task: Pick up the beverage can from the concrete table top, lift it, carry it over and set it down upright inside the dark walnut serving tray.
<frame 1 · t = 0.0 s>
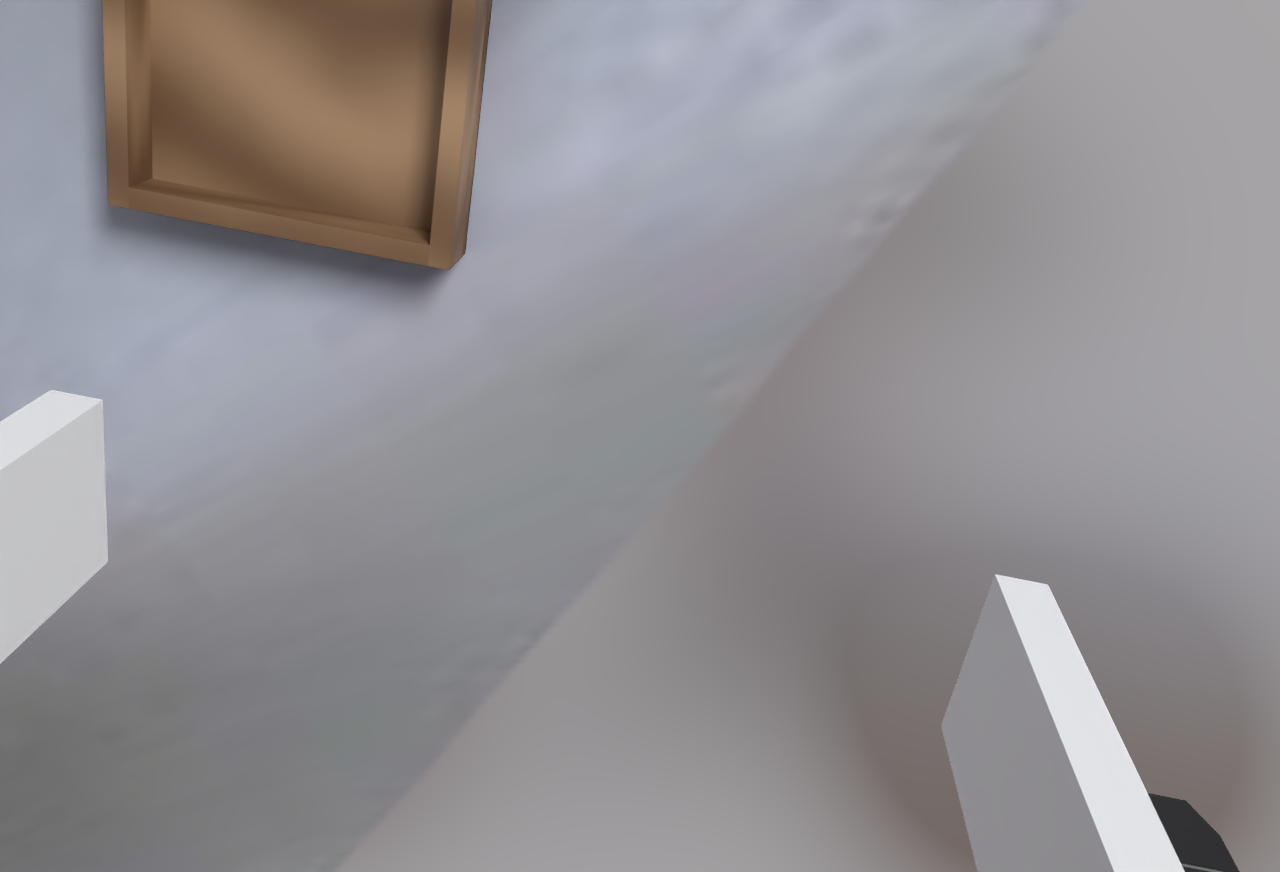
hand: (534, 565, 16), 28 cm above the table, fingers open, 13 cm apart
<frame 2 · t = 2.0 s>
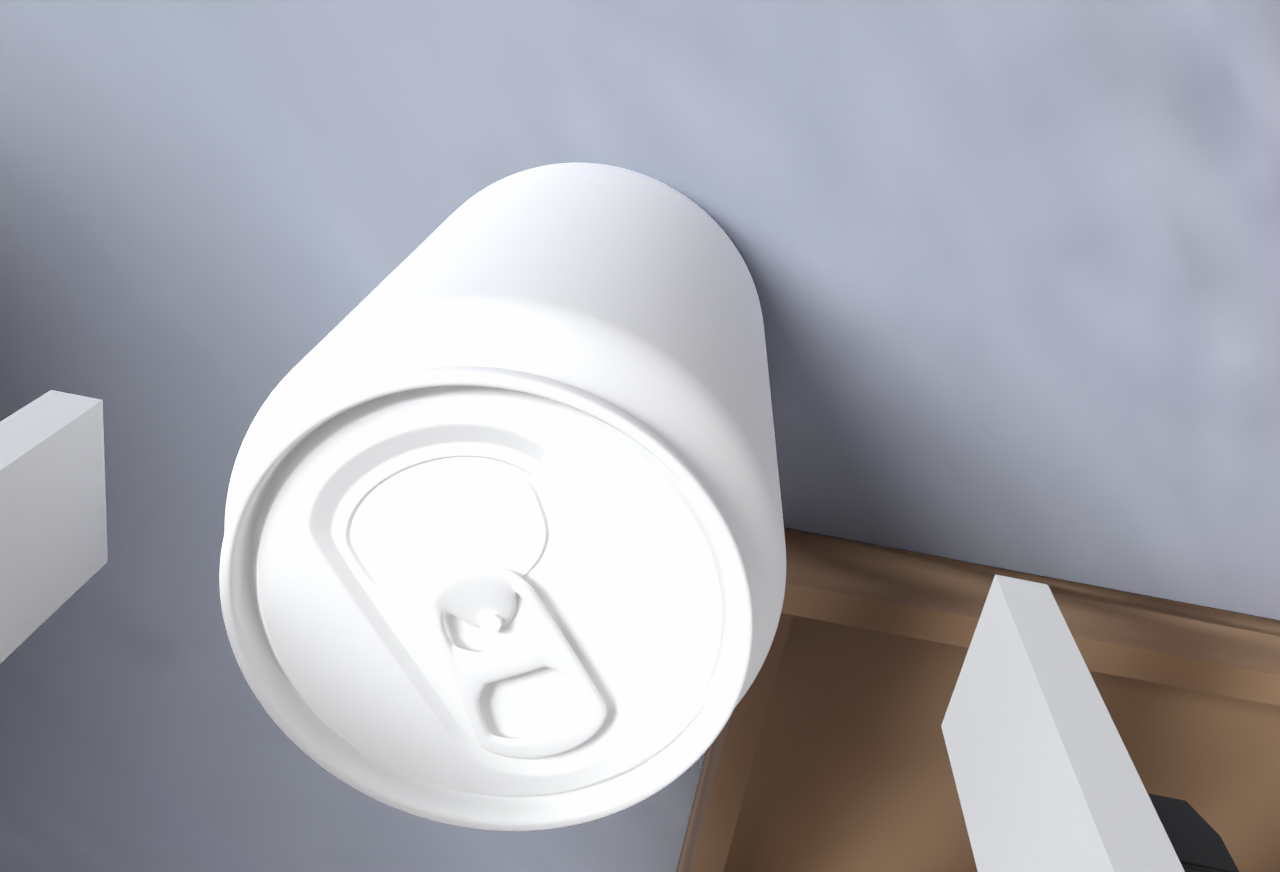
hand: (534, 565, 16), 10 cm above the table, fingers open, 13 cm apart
beverage can: (588, 331, 26), on the table
walnut tray: (1037, 792, 30), on the table
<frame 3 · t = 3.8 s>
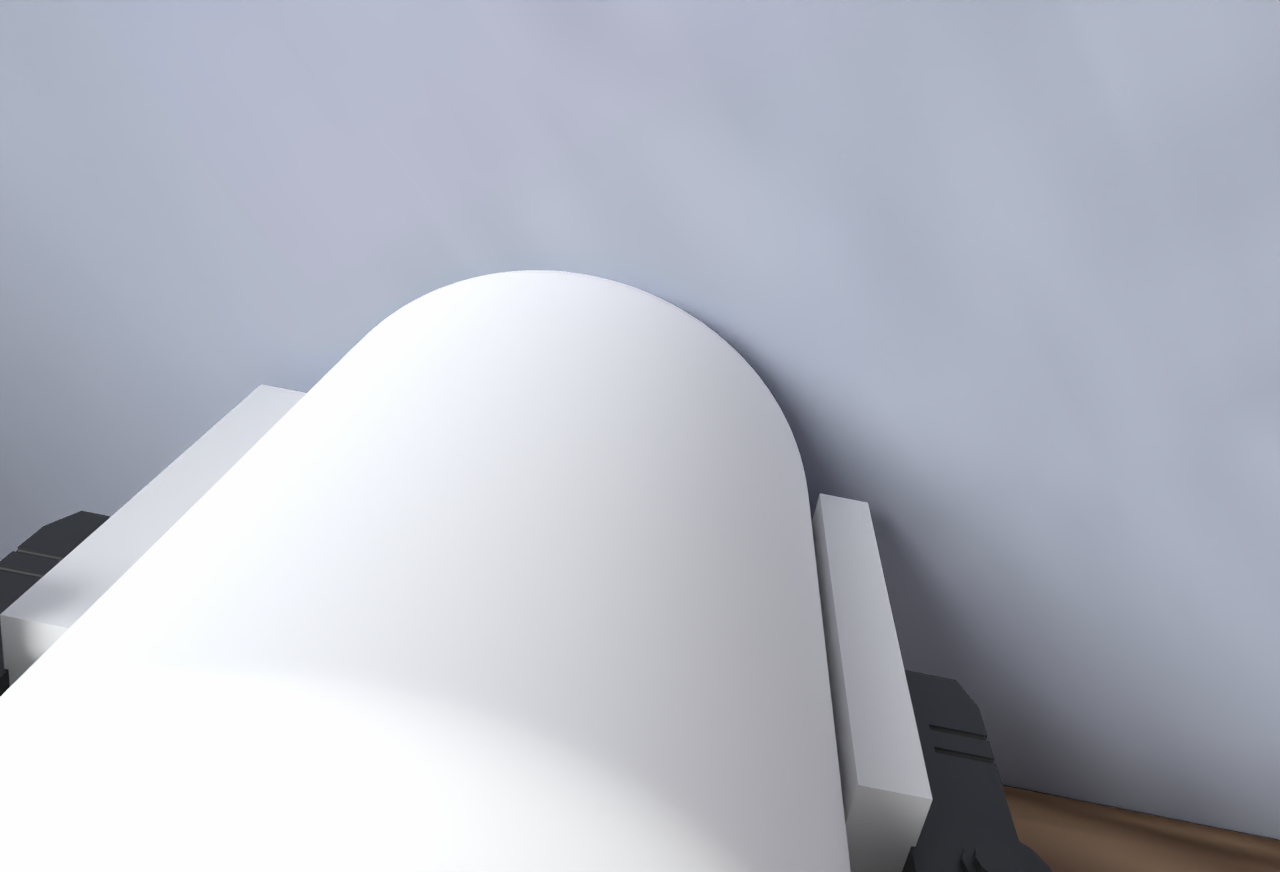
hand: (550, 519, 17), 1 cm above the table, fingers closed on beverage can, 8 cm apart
beverage can: (561, 492, 18), on the table, touching gripper
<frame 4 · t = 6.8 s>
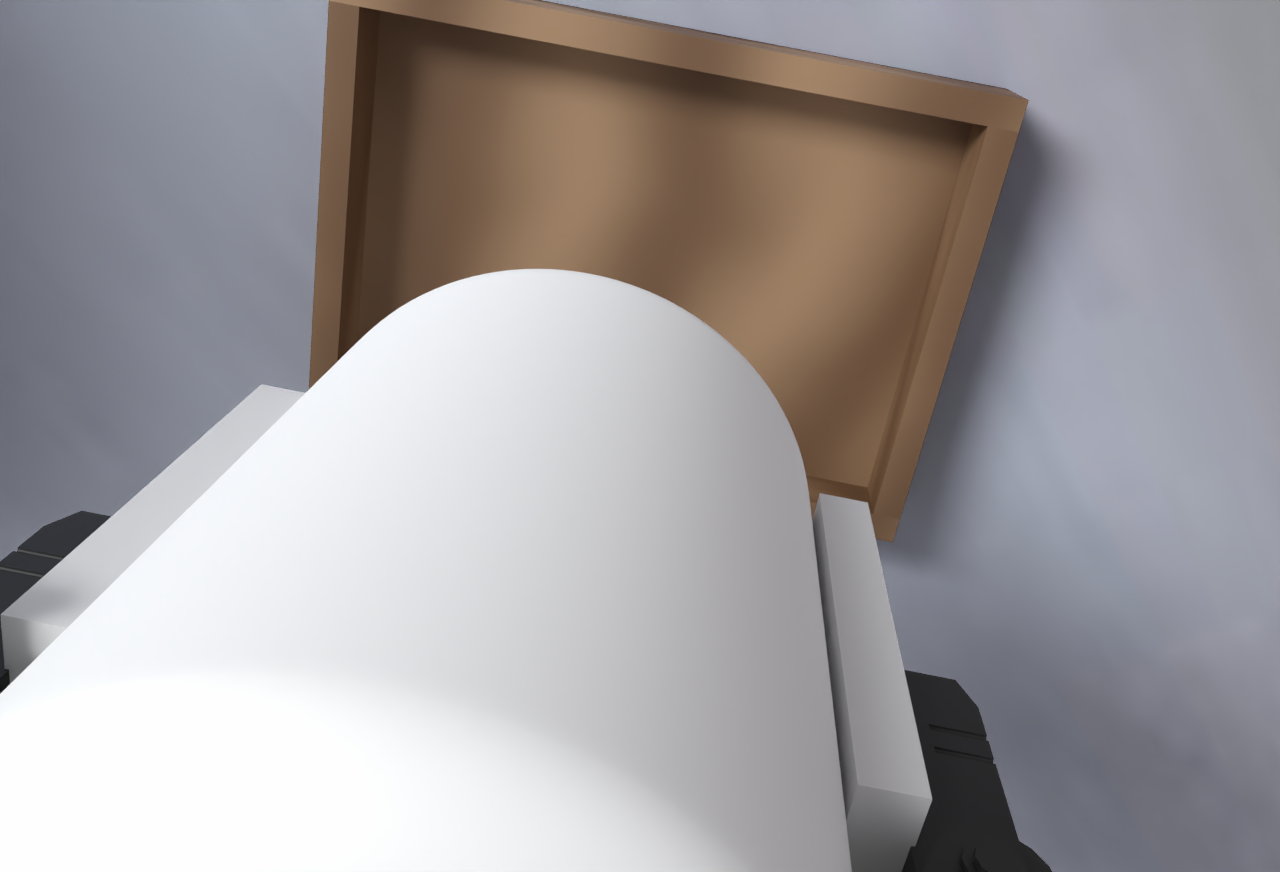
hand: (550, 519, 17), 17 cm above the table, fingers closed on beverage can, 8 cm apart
beverage can: (561, 491, 18), point 16 cm above the table, touching gripper
walnut tray: (643, 255, 33), on the table
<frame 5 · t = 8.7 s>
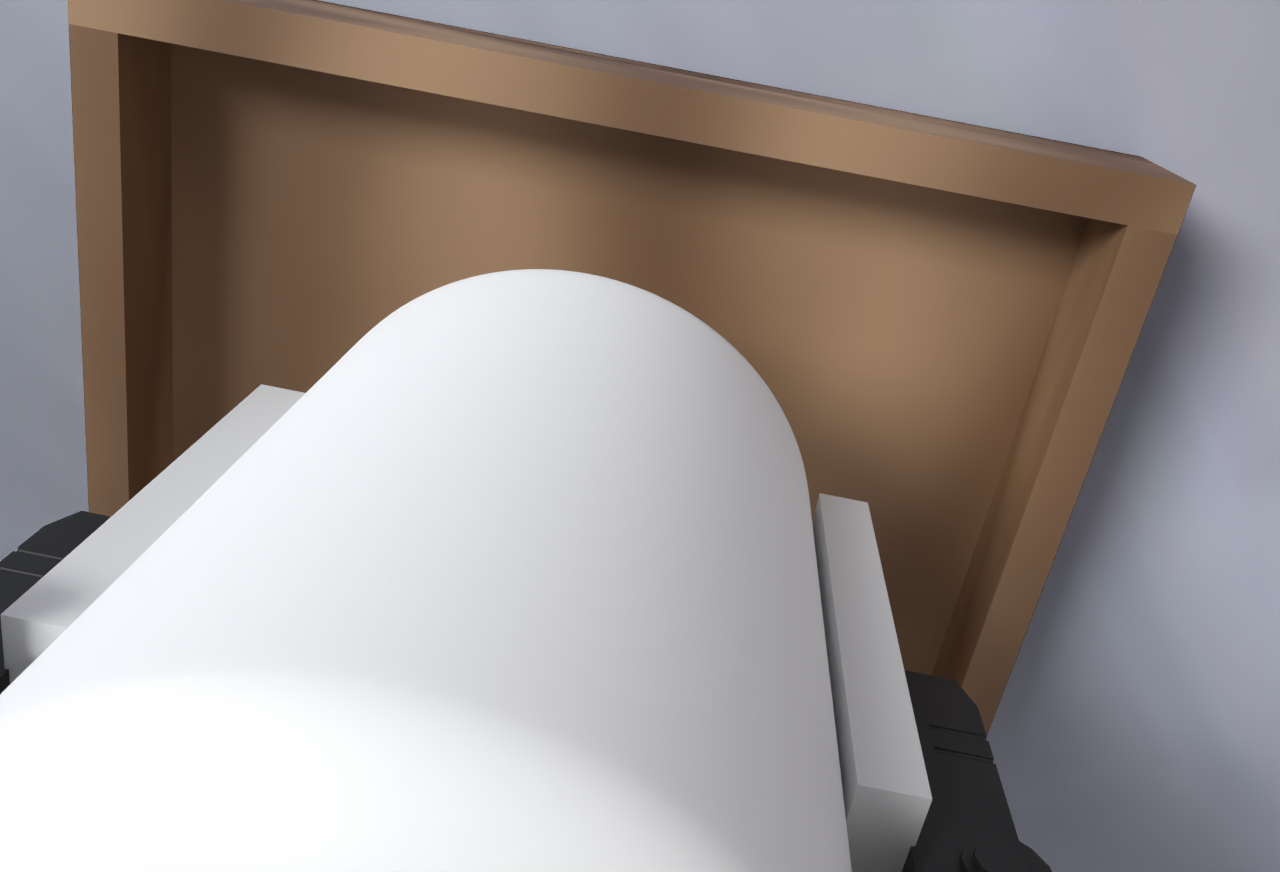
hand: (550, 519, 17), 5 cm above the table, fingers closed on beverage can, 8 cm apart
beverage can: (561, 492, 18), point 4 cm above the table, touching gripper
walnut tray: (587, 394, 22), on the table
when the fingers open (3 cm above the table, at t = 10.1 s): beverage can drops 2 cm, resting on walnut tray.
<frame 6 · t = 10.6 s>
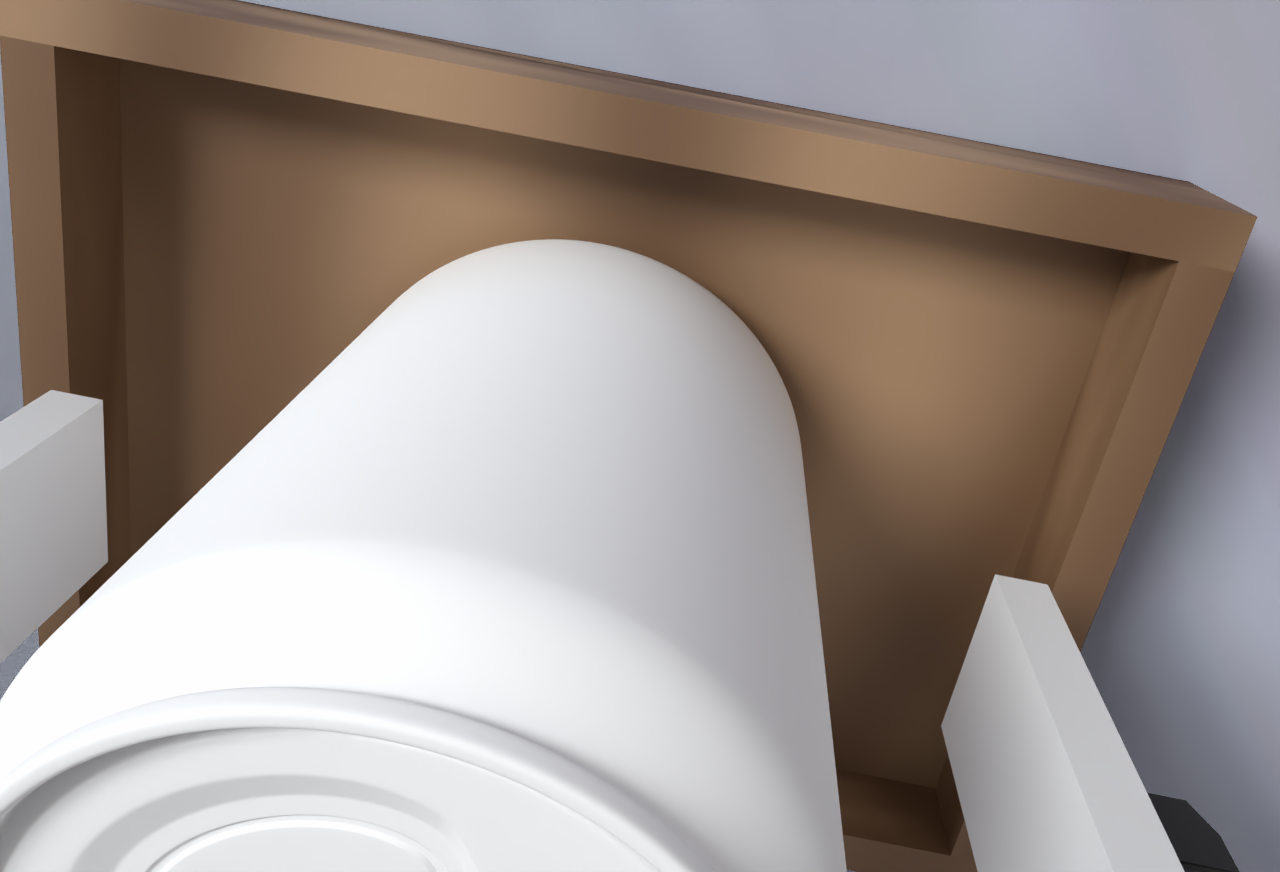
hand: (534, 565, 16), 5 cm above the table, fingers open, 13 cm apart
beverage can: (573, 448, 20), point 1 cm above the table, touching walnut tray
walnut tray: (579, 437, 20), on the table
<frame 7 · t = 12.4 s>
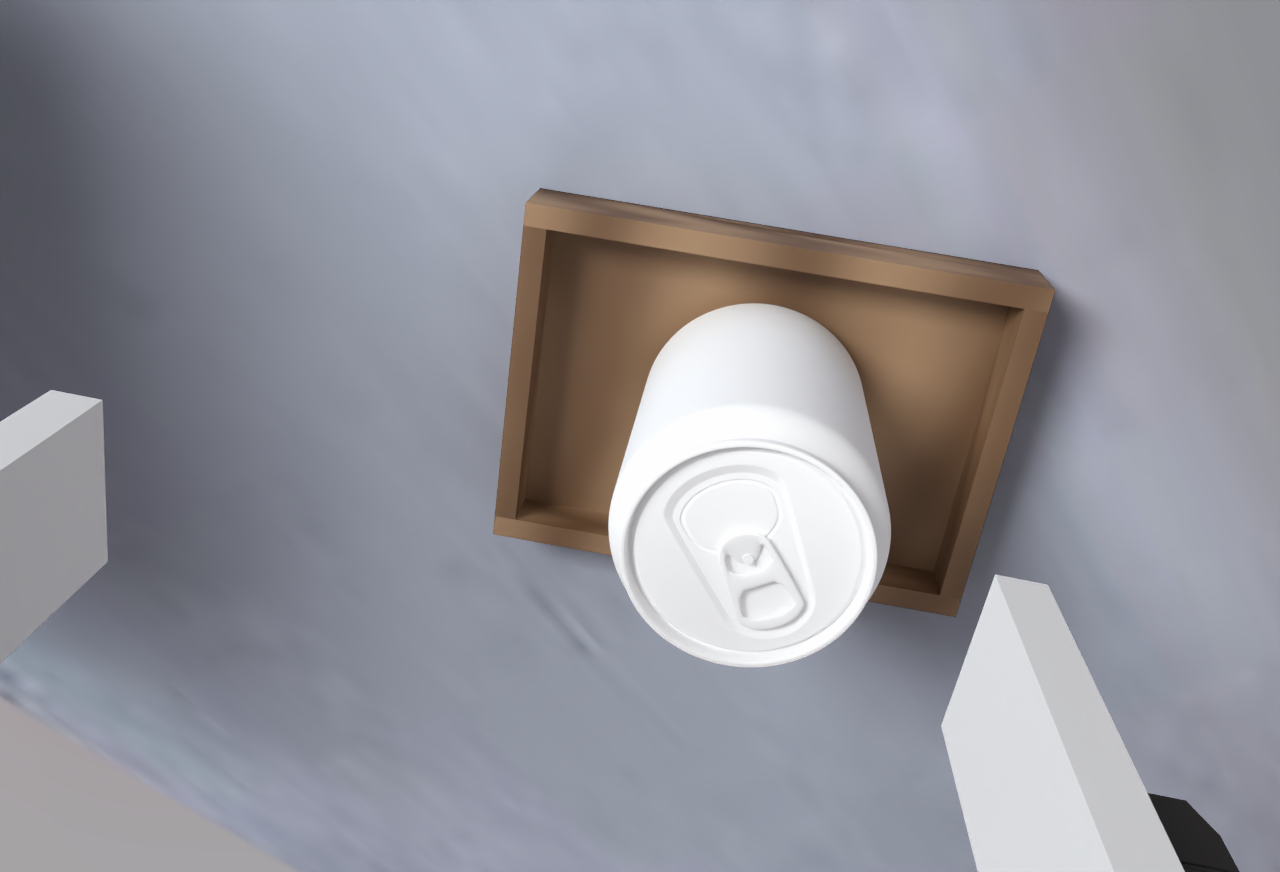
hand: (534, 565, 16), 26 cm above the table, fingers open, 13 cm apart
beverage can: (753, 400, 41), point 1 cm above the table, touching walnut tray
walnut tray: (753, 395, 42), on the table
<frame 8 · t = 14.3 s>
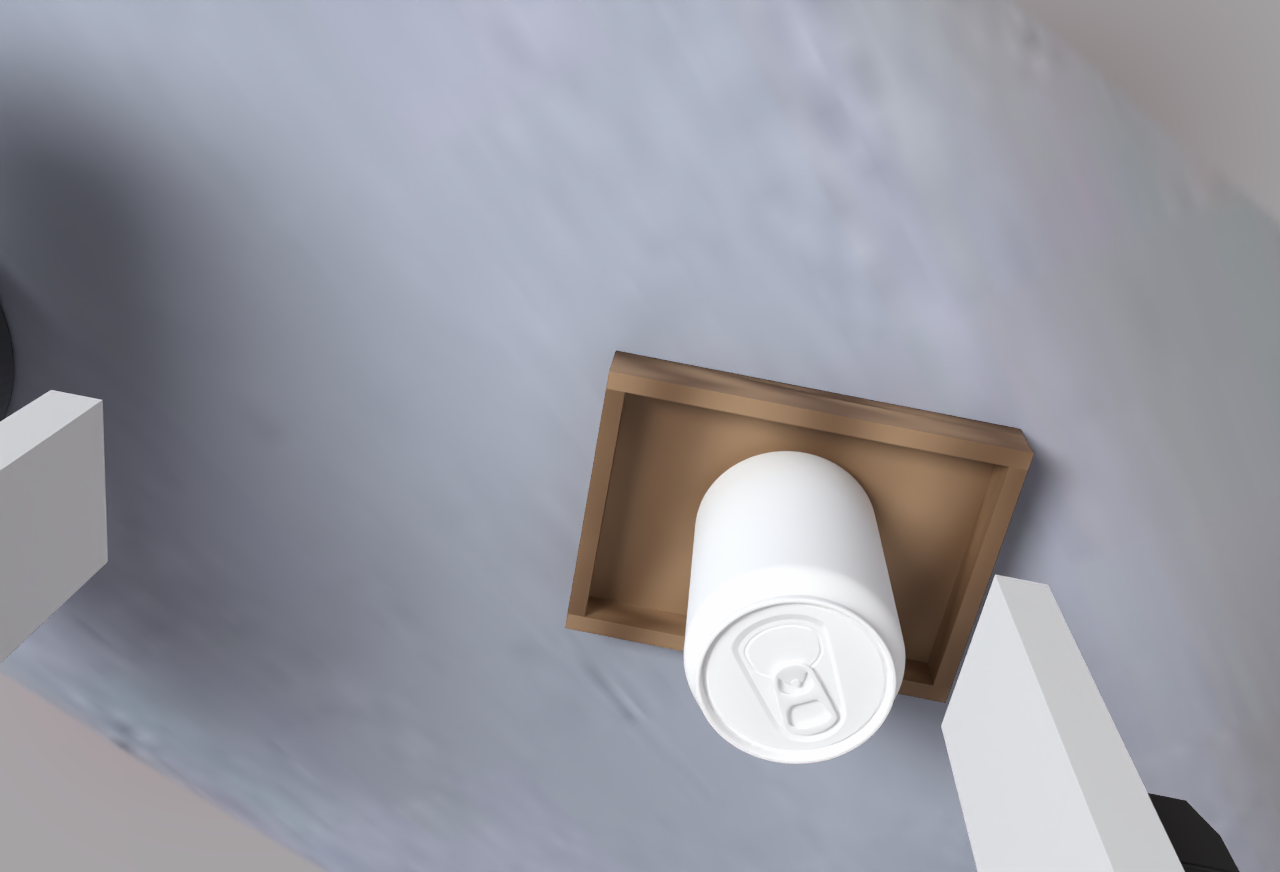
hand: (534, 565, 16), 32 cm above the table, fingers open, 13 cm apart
beverage can: (784, 523, 50), point 1 cm above the table, touching walnut tray
walnut tray: (784, 518, 51), on the table
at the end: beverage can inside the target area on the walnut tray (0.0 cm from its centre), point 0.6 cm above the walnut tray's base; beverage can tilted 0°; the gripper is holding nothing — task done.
